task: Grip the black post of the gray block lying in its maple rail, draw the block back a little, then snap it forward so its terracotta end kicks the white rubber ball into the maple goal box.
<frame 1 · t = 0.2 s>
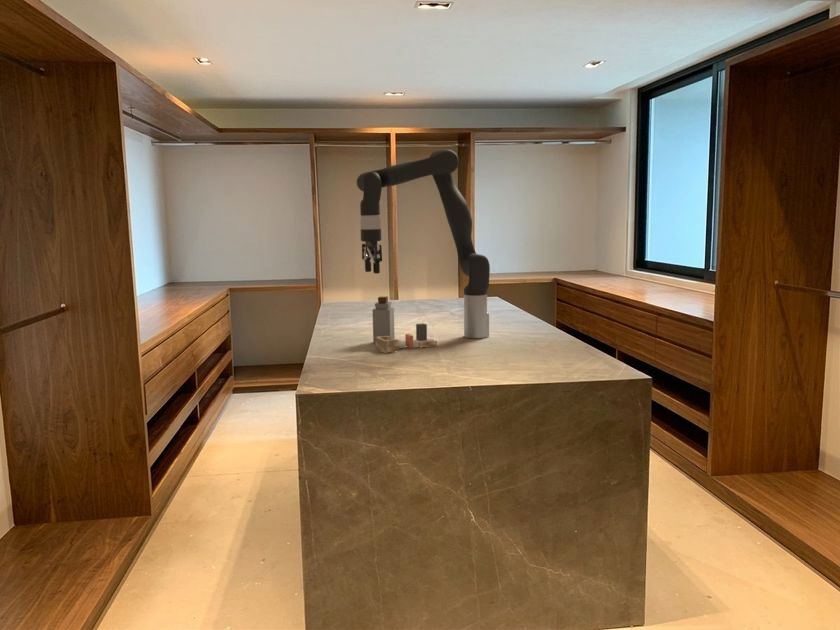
hand: (372, 272, 237), 28 cm above the countertop, tool pointing down, fingers open, 8 cm apart
ball: (401, 343, 240), point 2 cm above the countertop
rail guide: (425, 345, 245), on the countertop
goal box: (387, 350, 238), on the countertop
gray block: (420, 335, 243), point 4 cm above the countertop, slide at 0.0 cm
perfume bottle: (384, 343, 251), on the countertop
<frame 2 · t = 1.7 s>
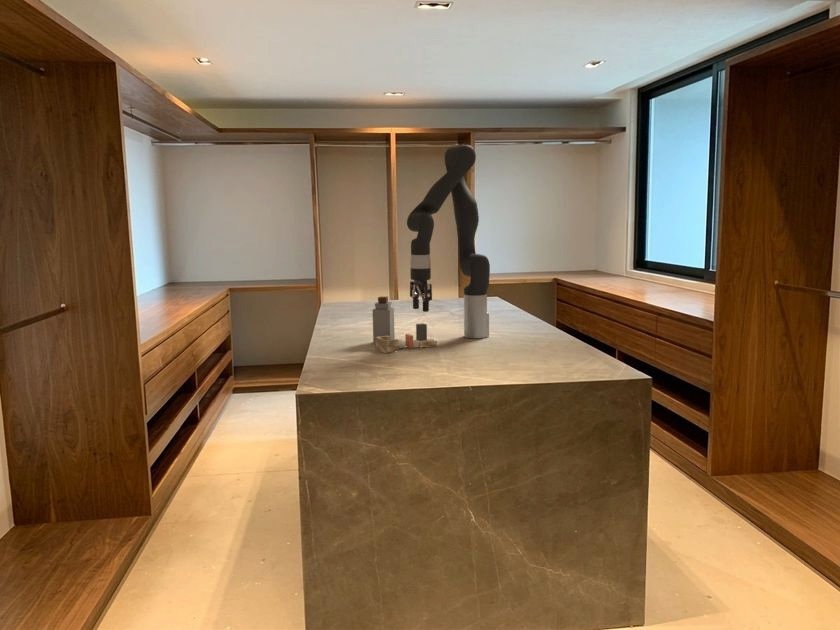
hand: (420, 310, 242), 14 cm above the countertop, tool pointing down, fingers open, 8 cm apart
nothing on the countertop moved.
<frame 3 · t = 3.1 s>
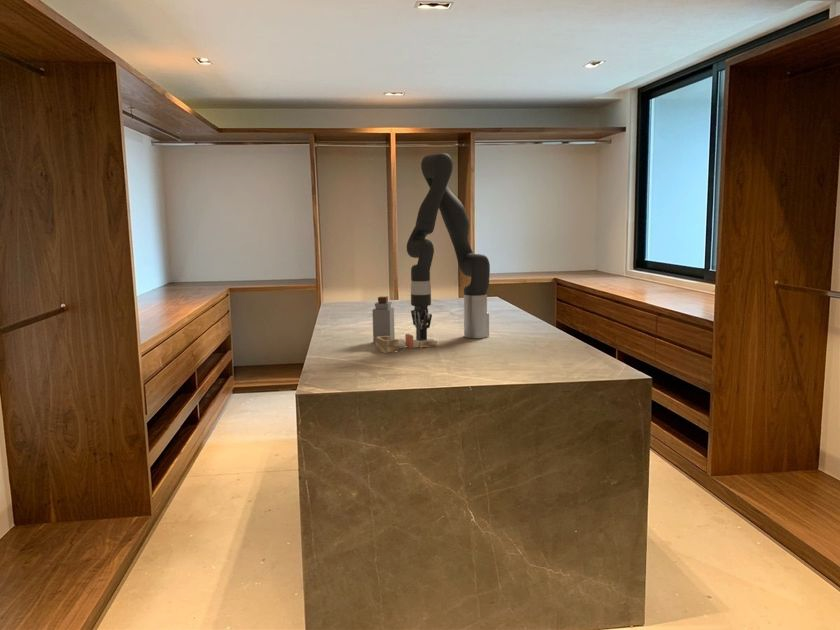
hand: (421, 337, 243), 3 cm above the countertop, tool pointing down, fingers closed on gray block, 3 cm apart
gray block: (420, 335, 243), point 4 cm above the countertop, slide at 0.0 cm, touching gripper
everything else where it was.
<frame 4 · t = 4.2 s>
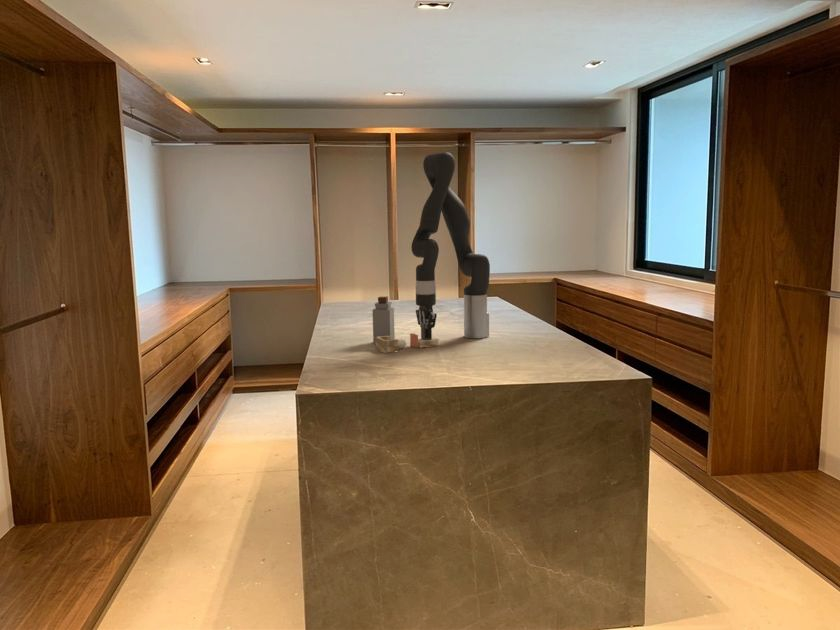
hand: (426, 337, 244), 3 cm above the countertop, tool pointing down, fingers closed on gray block, 3 cm apart
gray block: (424, 334, 244), point 4 cm above the countertop, slide at -2.0 cm, touching gripper
everything else where it was.
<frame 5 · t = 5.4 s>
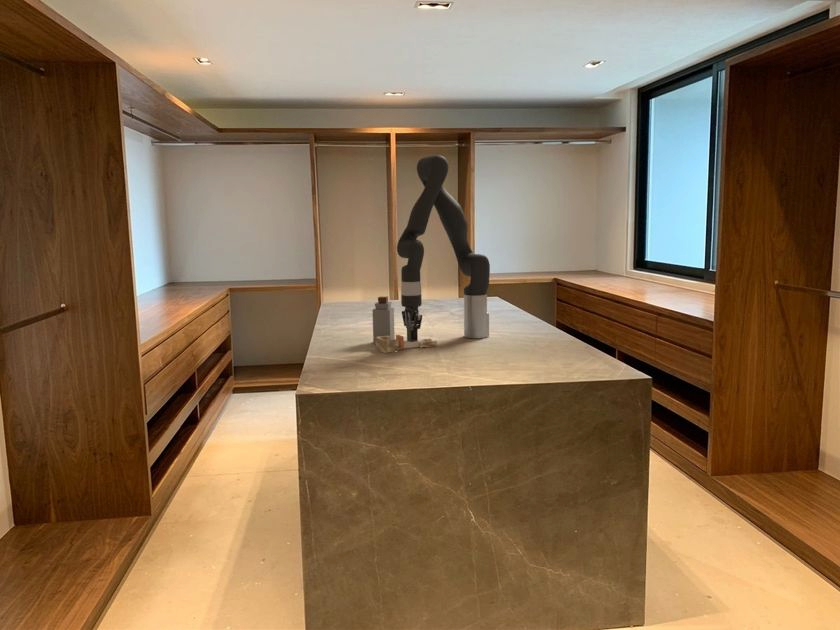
hand: (412, 338, 242), 3 cm above the countertop, tool pointing down, fingers closed on gray block, 3 cm apart
ball: (390, 344, 238), point 2 cm above the countertop, tilted 124°
gray block: (410, 336, 241), point 4 cm above the countertop, slide at 3.9 cm, touching gripper
everything else where it was.
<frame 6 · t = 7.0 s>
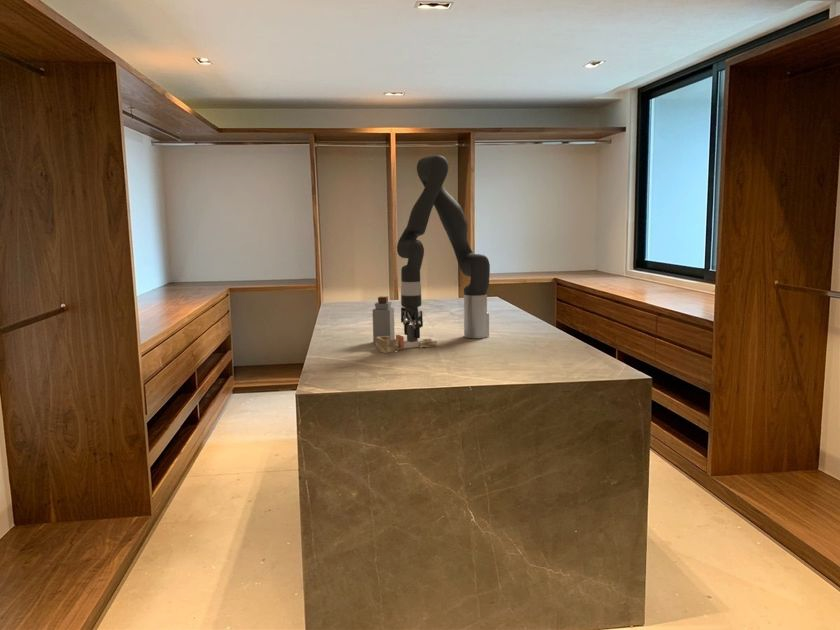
hand: (411, 336, 242), 4 cm above the countertop, tool pointing down, fingers open, 8 cm apart
ball: (393, 344, 239), point 2 cm above the countertop, tilted 86°
gray block: (410, 336, 241), point 4 cm above the countertop, slide at 3.9 cm
everything else where it was.
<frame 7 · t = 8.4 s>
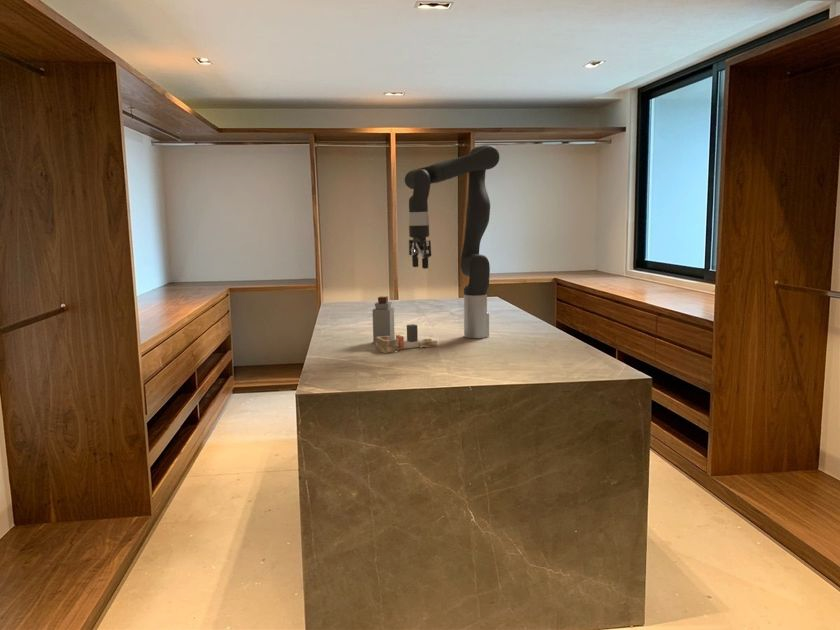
hand: (420, 267, 243), 29 cm above the countertop, tool pointing down, fingers open, 8 cm apart
ball: (392, 344, 239), point 2 cm above the countertop, tilted 95°
everything else where it was.
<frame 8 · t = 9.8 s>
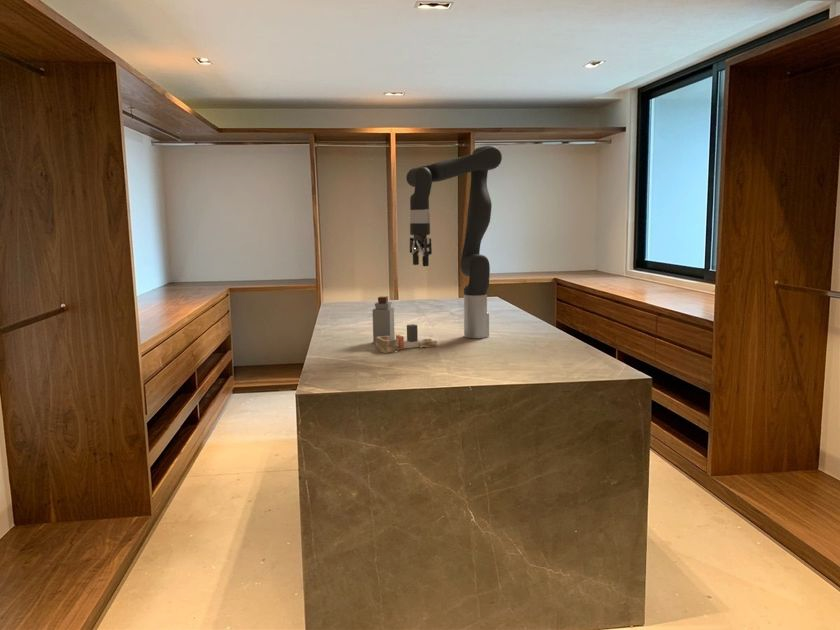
hand: (420, 265, 244), 30 cm above the countertop, tool pointing down, fingers open, 8 cm apart
ball: (392, 344, 239), point 2 cm above the countertop, tilted 104°
everything else where it was.
at the end: ball 1.9 cm from the target spot, point 1.8 cm above the countertop; gray block slide at 3.9 cm; the gripper is holding nothing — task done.
